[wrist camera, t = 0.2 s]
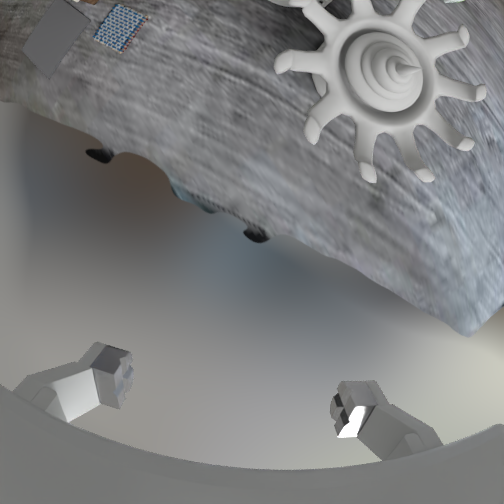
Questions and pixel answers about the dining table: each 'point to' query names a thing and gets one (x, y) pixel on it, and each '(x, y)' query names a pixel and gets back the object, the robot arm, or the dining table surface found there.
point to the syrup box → (452, 1)
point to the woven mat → (119, 27)
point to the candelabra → (380, 79)
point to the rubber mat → (54, 36)
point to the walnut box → (91, 1)
